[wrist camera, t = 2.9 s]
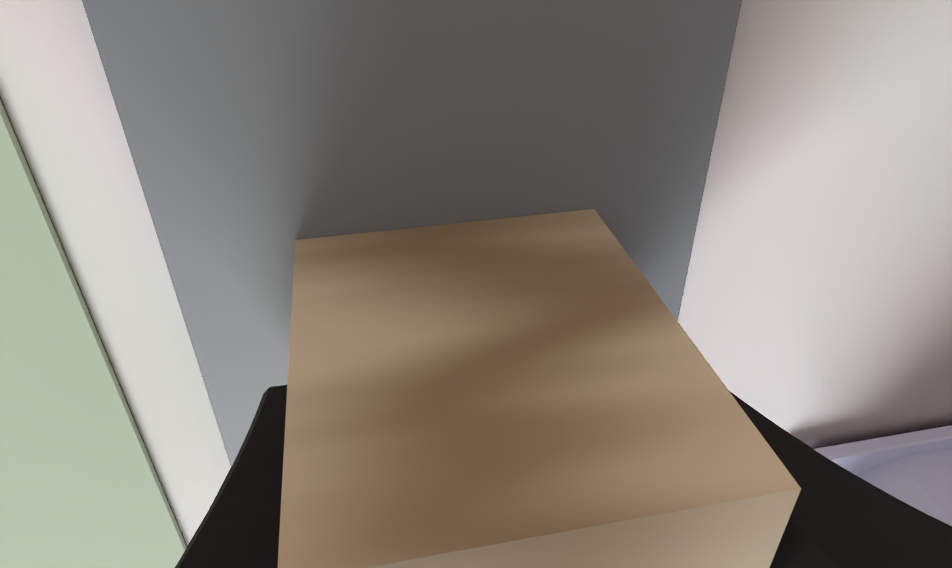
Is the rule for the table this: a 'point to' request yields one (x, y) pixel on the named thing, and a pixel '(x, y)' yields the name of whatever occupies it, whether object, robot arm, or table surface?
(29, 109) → the table surface
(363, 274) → the maple block
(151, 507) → the mat
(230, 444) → the grey plate
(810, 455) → the robot arm
